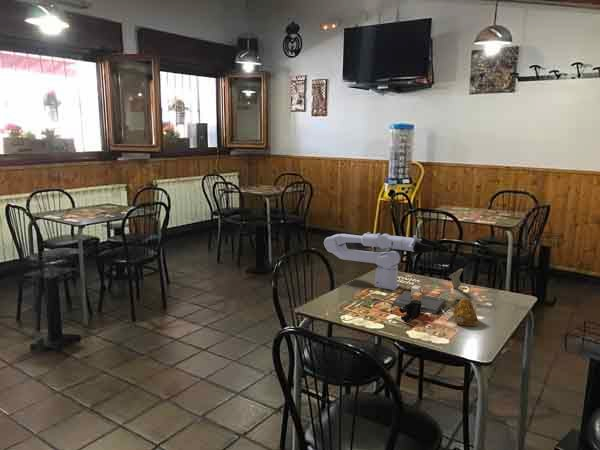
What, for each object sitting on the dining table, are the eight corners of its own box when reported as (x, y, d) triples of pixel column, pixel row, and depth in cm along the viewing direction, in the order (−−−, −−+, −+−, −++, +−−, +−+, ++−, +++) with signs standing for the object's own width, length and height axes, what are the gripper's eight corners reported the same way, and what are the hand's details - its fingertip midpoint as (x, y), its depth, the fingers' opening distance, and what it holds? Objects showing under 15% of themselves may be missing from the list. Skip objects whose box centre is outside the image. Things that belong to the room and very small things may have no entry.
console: (392, 304, 191) (393, 301, 190) (404, 294, 204) (404, 291, 203) (435, 313, 182) (435, 309, 182) (444, 302, 195) (445, 298, 195)
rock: (476, 333, 176) (481, 321, 168) (454, 335, 177) (458, 324, 168) (468, 305, 183) (473, 293, 174) (446, 308, 183) (450, 296, 175)
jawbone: (466, 304, 209) (472, 300, 195) (449, 306, 210) (454, 302, 196) (460, 272, 213) (466, 266, 199) (443, 274, 214) (447, 269, 200)
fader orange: (412, 303, 188) (412, 294, 188) (415, 300, 192) (415, 291, 191) (418, 304, 187) (419, 295, 186) (421, 301, 190) (421, 293, 190)
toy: (412, 310, 186) (413, 293, 185) (424, 312, 184) (425, 296, 182) (397, 323, 174) (398, 305, 172) (410, 326, 171) (411, 308, 170)
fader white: (410, 296, 196) (411, 287, 196) (413, 293, 200) (414, 285, 199) (416, 297, 195) (417, 288, 195) (419, 294, 199) (420, 286, 198)
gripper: (398, 237, 200) (430, 241, 193) (409, 231, 212) (440, 234, 205) (397, 254, 201) (429, 258, 194) (409, 246, 214) (439, 250, 207)
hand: (435, 247), depth 200 cm, fingers open, 7 cm apart
